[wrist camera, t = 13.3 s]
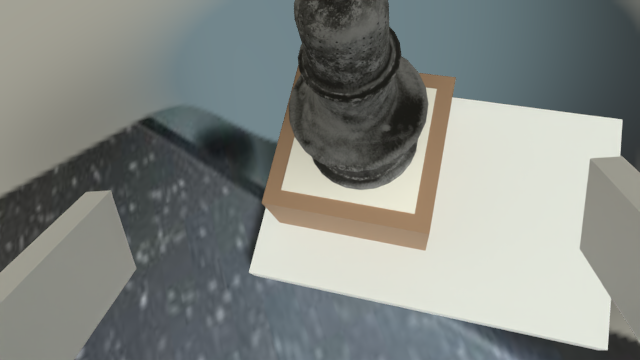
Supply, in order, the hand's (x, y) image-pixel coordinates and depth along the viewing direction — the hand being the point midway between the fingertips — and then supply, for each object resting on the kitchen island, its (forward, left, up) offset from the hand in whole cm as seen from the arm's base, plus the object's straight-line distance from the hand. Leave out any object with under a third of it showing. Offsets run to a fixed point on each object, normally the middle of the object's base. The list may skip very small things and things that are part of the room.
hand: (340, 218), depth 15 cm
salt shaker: (+1, -6, -9) cm, 11 cm away
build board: (-3, -5, -15) cm, 16 cm away
